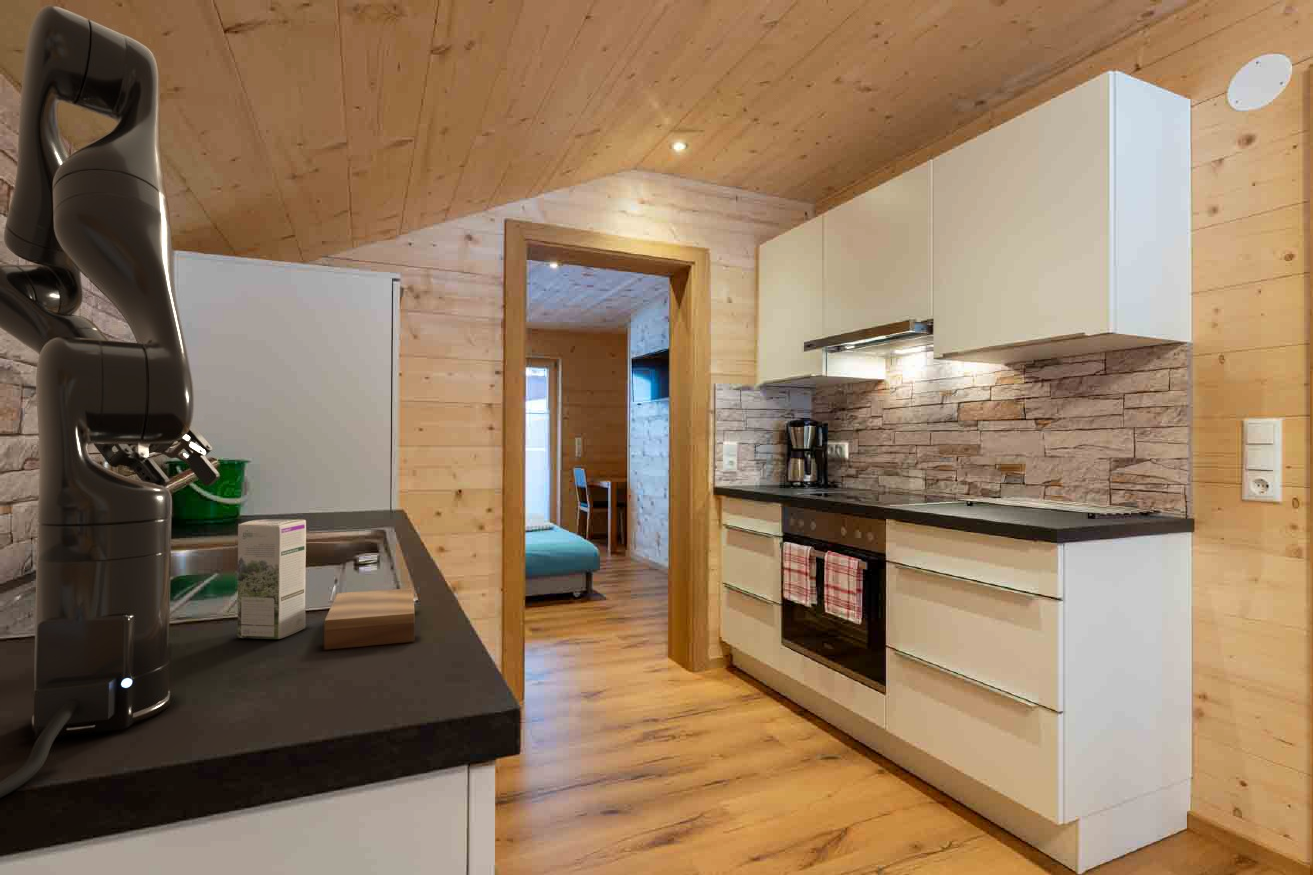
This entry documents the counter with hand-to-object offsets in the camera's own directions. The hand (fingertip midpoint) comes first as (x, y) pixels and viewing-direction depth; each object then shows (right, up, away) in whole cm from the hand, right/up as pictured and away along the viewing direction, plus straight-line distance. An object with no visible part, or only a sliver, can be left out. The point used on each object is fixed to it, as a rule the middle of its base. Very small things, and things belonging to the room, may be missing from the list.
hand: (189, 484), depth 86 cm
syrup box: (+10, -19, 0) cm, 22 cm away
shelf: (+22, -19, +3) cm, 30 cm away
